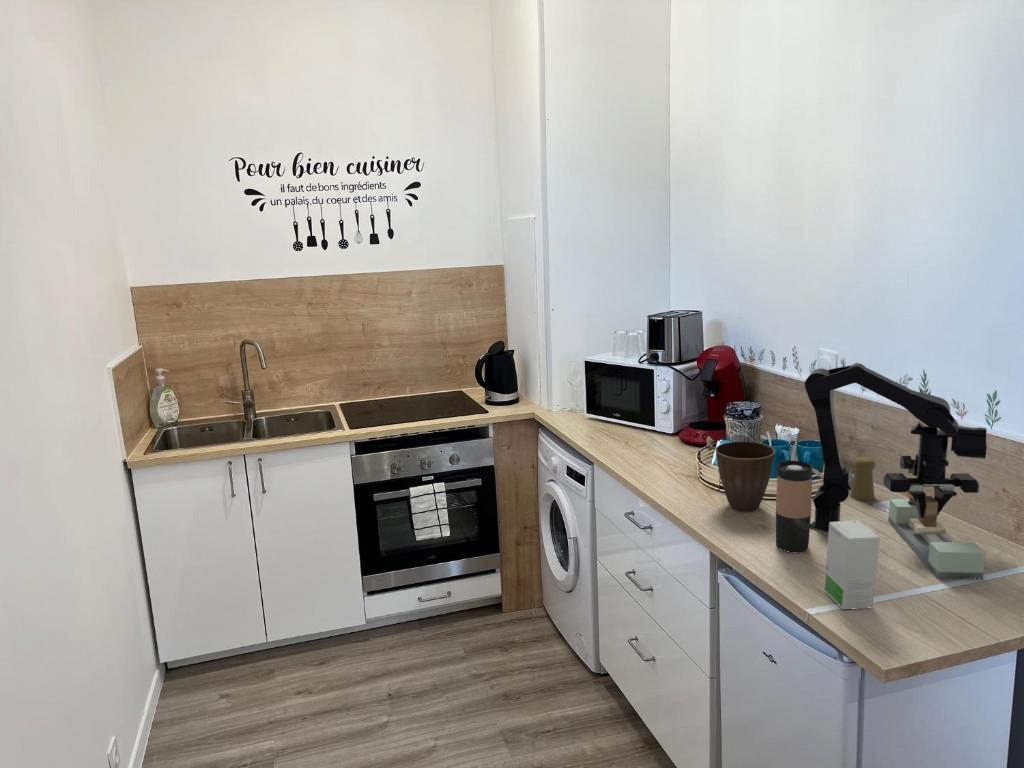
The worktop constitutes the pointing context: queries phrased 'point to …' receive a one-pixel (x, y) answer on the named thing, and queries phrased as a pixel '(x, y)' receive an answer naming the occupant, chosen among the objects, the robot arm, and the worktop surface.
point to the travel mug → (793, 505)
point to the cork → (863, 479)
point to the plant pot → (744, 473)
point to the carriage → (928, 519)
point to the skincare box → (851, 564)
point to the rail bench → (937, 546)
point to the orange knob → (911, 500)
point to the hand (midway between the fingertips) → (927, 517)
